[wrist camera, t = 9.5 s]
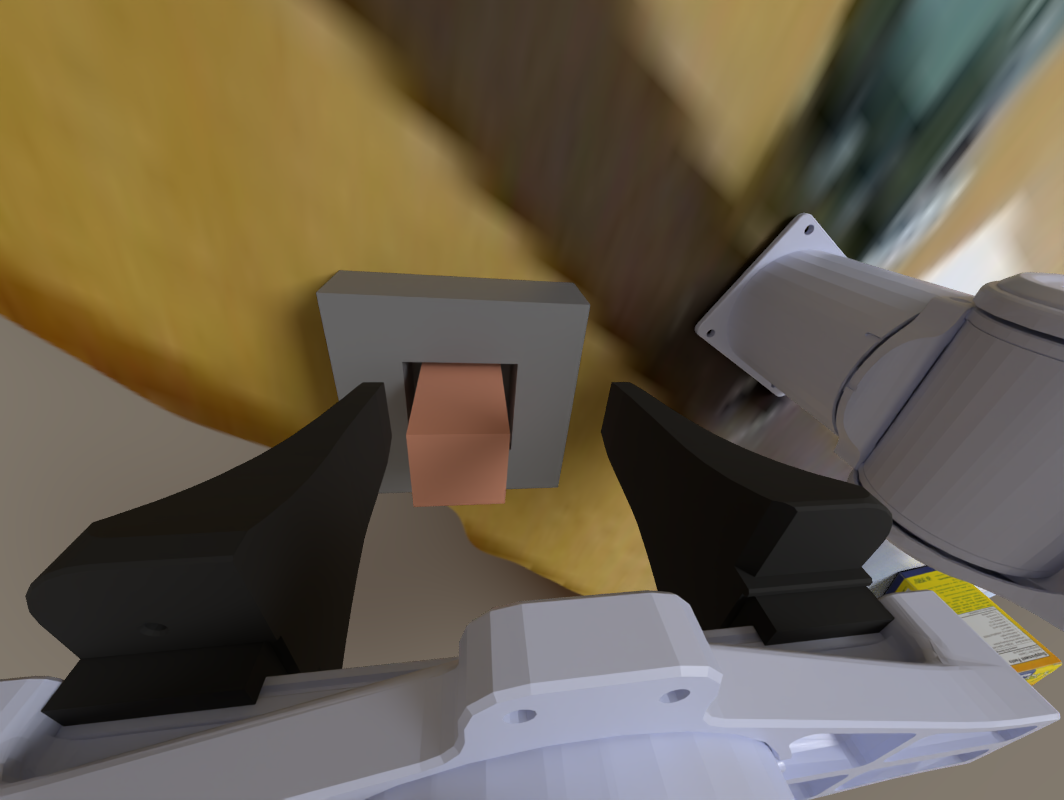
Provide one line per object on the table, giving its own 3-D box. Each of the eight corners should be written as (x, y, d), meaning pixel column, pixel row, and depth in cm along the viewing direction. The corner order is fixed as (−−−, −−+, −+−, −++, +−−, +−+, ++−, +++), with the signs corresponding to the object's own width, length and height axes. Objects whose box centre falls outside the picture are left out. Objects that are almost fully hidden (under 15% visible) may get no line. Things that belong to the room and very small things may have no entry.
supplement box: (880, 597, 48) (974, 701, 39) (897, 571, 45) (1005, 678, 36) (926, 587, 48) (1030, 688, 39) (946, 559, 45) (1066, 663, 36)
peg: (498, 347, 22) (510, 433, 15) (495, 405, 24) (504, 503, 18) (425, 345, 21) (405, 434, 15) (429, 405, 24) (413, 506, 17)
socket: (573, 283, 21) (590, 304, 18) (548, 451, 28) (557, 487, 25) (339, 270, 19) (315, 292, 16) (371, 454, 26) (358, 493, 23)
